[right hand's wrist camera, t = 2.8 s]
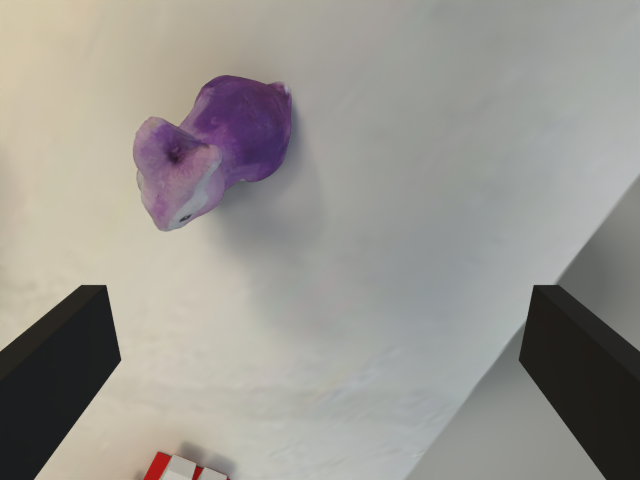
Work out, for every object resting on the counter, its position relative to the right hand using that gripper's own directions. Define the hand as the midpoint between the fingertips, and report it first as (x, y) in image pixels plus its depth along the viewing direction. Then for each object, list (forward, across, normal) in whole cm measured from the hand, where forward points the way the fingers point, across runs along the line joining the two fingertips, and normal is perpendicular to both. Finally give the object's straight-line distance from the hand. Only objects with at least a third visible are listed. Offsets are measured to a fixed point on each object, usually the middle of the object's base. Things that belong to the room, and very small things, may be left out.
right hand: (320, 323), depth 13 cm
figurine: (+25, -7, +3) cm, 26 cm away
